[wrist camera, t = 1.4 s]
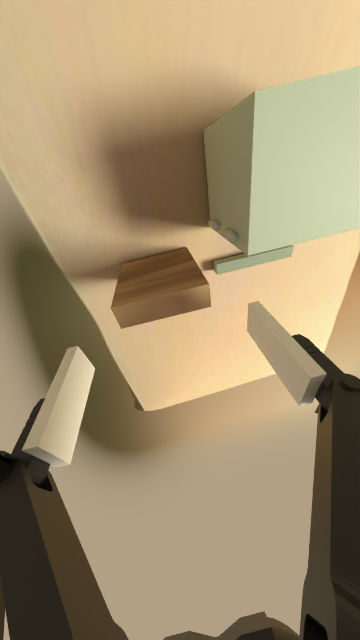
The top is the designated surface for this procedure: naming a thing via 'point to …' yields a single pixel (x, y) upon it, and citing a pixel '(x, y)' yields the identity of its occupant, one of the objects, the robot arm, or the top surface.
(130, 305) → the brown boxy piece
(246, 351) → the top surface
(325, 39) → the top surface
